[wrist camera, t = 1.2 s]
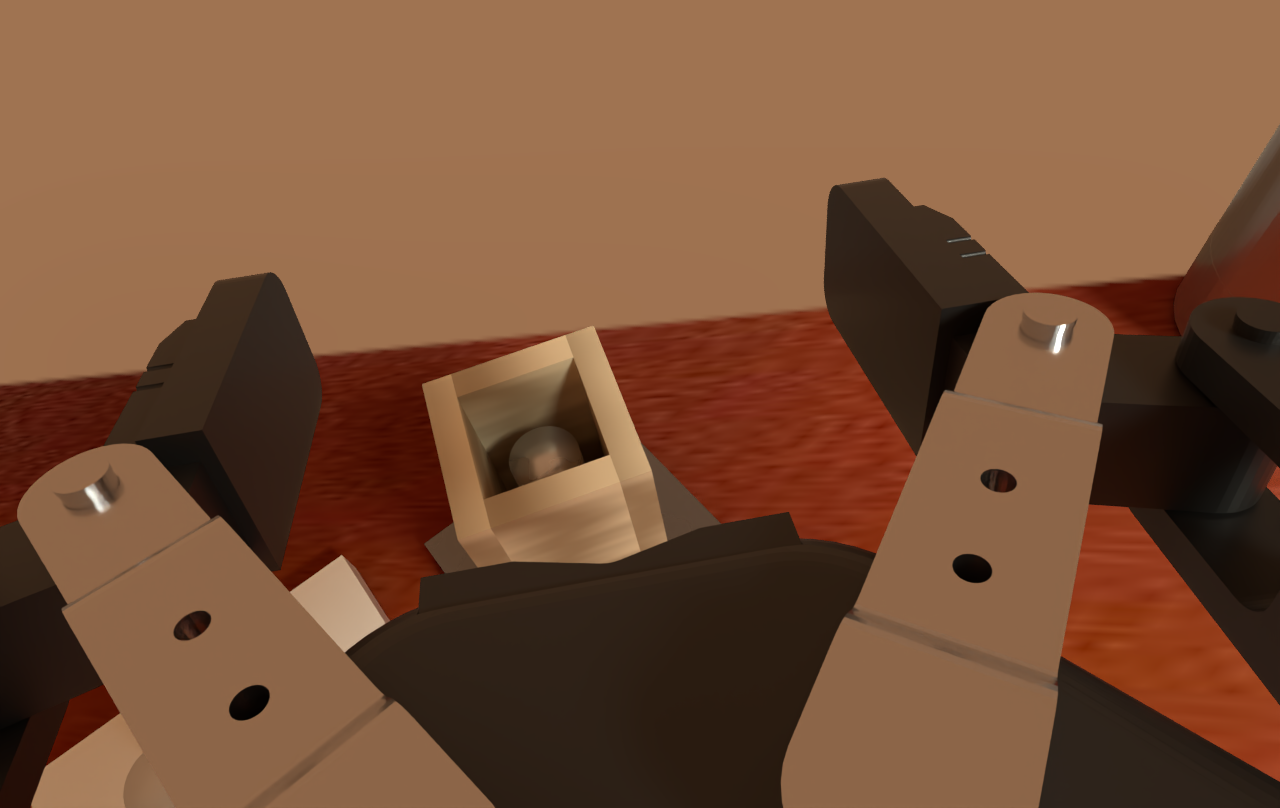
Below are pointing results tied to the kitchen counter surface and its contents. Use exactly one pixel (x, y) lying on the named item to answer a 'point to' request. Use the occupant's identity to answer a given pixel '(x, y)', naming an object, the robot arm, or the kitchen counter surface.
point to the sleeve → (559, 504)
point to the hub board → (111, 757)
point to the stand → (560, 452)
